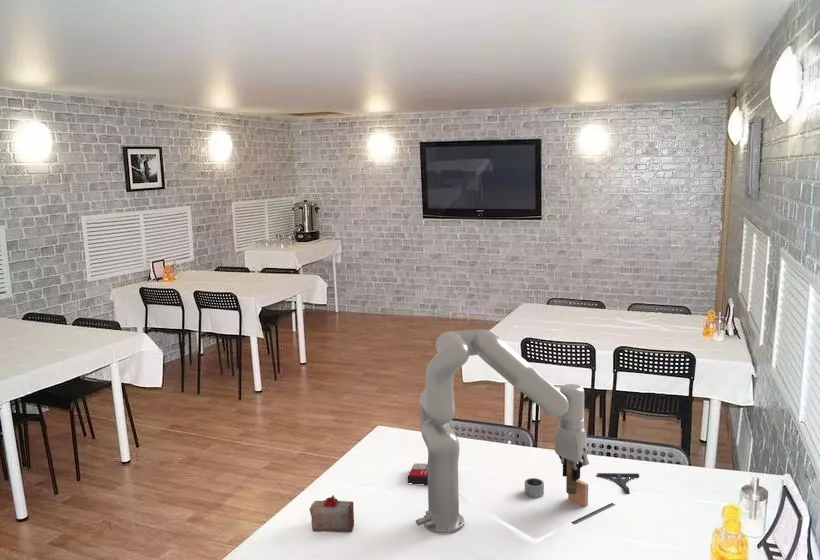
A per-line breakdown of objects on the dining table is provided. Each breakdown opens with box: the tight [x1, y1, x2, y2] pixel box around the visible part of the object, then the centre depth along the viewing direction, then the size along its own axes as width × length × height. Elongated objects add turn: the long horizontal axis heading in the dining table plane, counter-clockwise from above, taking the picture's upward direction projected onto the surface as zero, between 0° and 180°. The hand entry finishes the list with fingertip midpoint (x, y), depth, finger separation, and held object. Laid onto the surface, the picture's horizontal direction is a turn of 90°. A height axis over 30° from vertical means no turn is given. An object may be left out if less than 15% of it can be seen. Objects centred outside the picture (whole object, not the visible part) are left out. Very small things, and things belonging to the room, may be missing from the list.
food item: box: [309, 494, 355, 533], centre depth 201 cm, size 14×8×10 cm, turn 84°
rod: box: [565, 459, 577, 494], centre depth 208 cm, size 3×3×14 cm
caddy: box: [524, 477, 545, 499], centre depth 218 cm, size 6×6×5 cm
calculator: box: [407, 462, 428, 486], centre depth 233 cm, size 11×4×15 cm
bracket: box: [596, 472, 640, 495], centre depth 225 cm, size 14×15×3 cm
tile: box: [567, 479, 589, 508], centre depth 211 cm, size 2×7×8 cm, turn 35°
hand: (571, 476), depth 208 cm, fingers closed on rod, 3 cm apart
